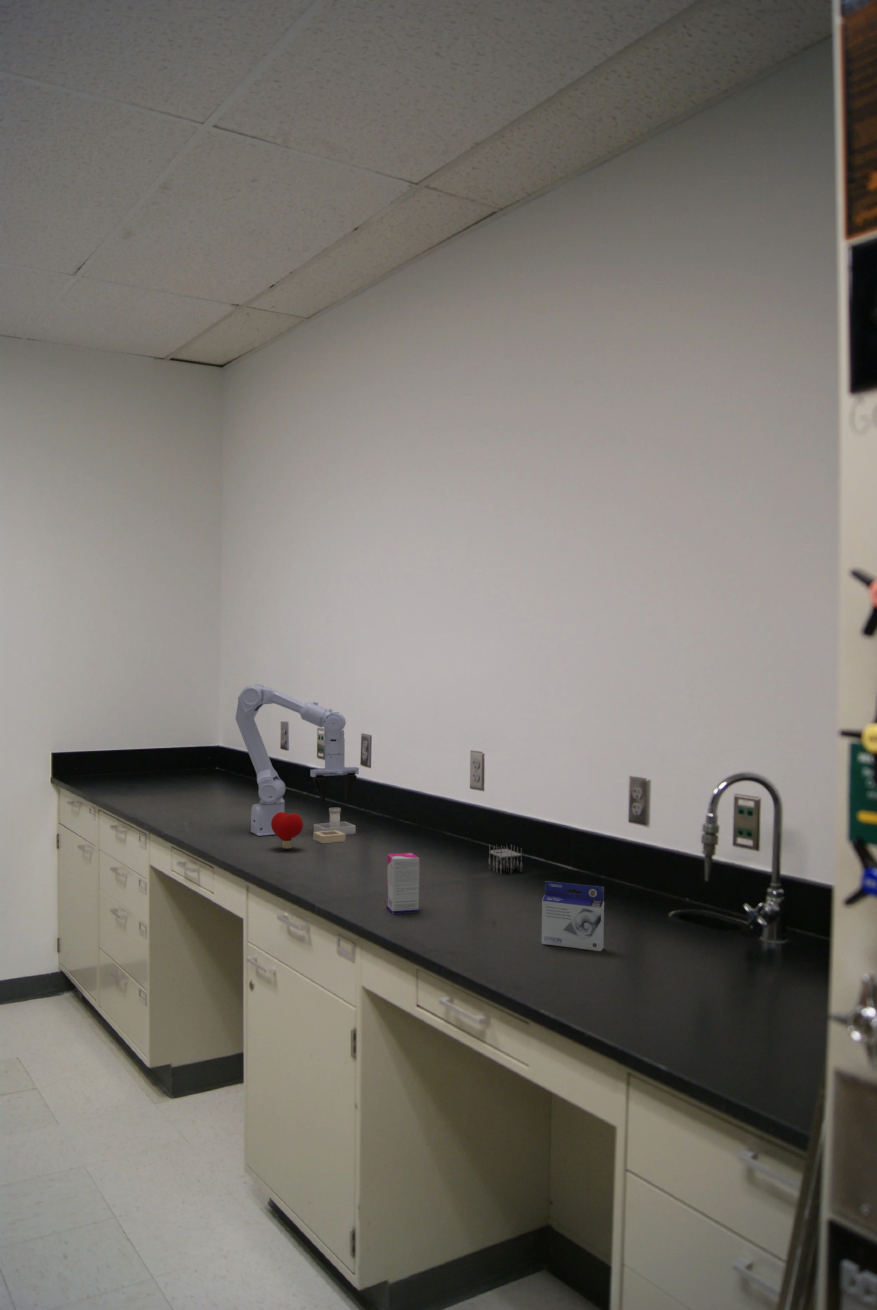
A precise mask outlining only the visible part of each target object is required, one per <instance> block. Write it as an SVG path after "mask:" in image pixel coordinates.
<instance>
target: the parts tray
mask: <svg viewBox="0 0 877 1310" xmlns="http://www.w3.org/2000/svg"><path fill="white" fill-rule="evenodd" d="M331 830H337V831H340V832H342V833H344V834H345V836H351V835H352V836H353V835H356V831H357V830H356V825H355V824H353V823H350V822H347V821H340V827H333V828H330V822H325V823H324V822H323V823H313V832H320V831H331Z"/></svg>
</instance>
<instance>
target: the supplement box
mask: <svg viewBox="0 0 877 1310" xmlns="http://www.w3.org/2000/svg"><path fill="white" fill-rule="evenodd" d="M386 863H387V866H386V867H387V869H386V870H387V871H386V873H387V874H386V876H387V878H386V908H387V910H388V911H389V912H390V913H391V914H392V915H398V914H409V913H410V914H411V913H419V911H420V910H419V904H420V902H419V901H420V900H419V899H420V857H418V856H417V855H416V854H414V853H413V852H404V853H388V854H387V862H386Z"/></svg>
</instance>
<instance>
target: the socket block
mask: <svg viewBox="0 0 877 1310" xmlns="http://www.w3.org/2000/svg"><path fill="white" fill-rule="evenodd" d="M312 834H313V838H312V839H313V840H314V841H316V842H319V843H321V844H330V843H331V844H332V843H340V842H343V843H344V842H346V835H345V834H344V833H342V832H340V831H337V830H331V831H320V832H314V831H313V832H312Z"/></svg>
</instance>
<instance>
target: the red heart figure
mask: <svg viewBox="0 0 877 1310" xmlns="http://www.w3.org/2000/svg"><path fill="white" fill-rule="evenodd" d="M271 827H272V830H273V832H274V833H275V834H274V835H275V836H276V837H278V838H279V839H280V840H281V847H282V848H283V850H285V851H289V850H290V849H291V848H292V847H293V838H295V837H297V836H298V835H300V834H301V833H302V830H303V828H304V822H303V818H302V817H301V816H300V815H299V814H298V813H295V812H294V813H289V814H288V813H287V812H285V811H284V812H280V813H277V814H276V815H275V816H274V817H273V818H272V821H271Z"/></svg>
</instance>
